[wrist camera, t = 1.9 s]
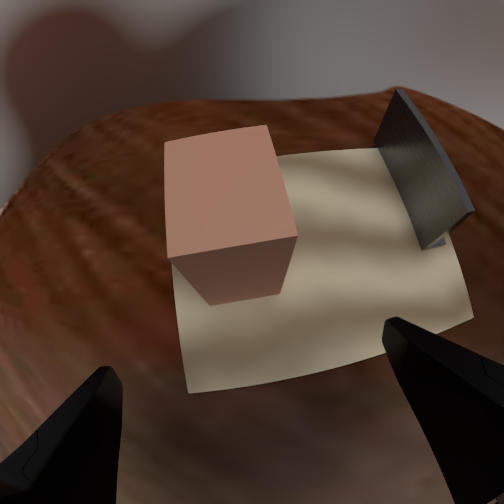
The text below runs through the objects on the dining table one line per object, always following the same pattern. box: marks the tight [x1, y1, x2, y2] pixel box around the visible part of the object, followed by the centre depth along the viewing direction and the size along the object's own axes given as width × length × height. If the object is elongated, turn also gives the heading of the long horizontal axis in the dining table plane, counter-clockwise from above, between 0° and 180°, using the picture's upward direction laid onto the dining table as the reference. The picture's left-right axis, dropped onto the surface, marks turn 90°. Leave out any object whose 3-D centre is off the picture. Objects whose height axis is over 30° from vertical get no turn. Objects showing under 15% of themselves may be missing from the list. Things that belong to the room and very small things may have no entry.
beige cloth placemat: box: [172, 148, 474, 393], centre depth 22 cm, size 18×24×1 cm
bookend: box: [374, 89, 475, 251], centre depth 20 cm, size 12×3×7 cm, turn 10°
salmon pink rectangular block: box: [164, 125, 298, 306], centre depth 16 cm, size 6×5×10 cm
